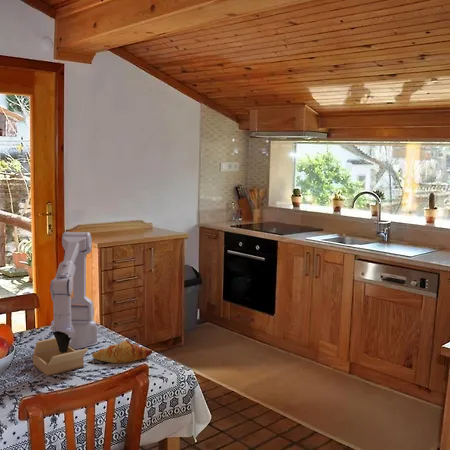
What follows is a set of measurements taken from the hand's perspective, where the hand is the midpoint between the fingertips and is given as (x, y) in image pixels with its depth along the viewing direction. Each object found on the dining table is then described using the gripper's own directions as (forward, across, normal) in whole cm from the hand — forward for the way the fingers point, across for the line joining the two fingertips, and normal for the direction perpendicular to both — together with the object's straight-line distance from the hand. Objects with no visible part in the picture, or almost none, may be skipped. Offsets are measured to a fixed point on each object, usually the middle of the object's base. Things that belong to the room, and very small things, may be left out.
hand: (63, 351), depth 185 cm
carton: (+6, -4, 0) cm, 8 cm away
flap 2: (0, +4, 0) cm, 4 cm away
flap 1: (0, -9, 0) cm, 9 cm away
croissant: (+7, +3, +21) cm, 22 cm away
